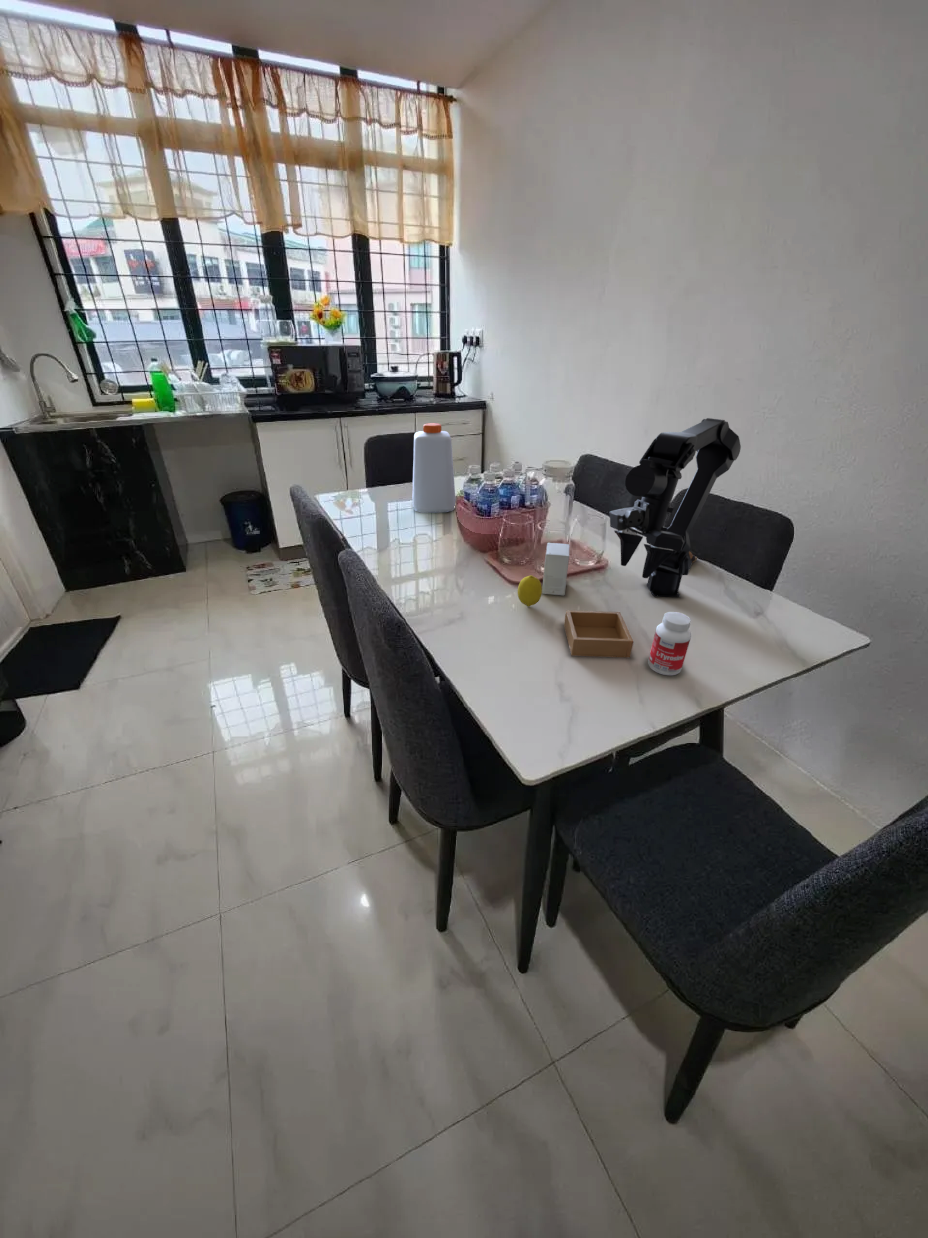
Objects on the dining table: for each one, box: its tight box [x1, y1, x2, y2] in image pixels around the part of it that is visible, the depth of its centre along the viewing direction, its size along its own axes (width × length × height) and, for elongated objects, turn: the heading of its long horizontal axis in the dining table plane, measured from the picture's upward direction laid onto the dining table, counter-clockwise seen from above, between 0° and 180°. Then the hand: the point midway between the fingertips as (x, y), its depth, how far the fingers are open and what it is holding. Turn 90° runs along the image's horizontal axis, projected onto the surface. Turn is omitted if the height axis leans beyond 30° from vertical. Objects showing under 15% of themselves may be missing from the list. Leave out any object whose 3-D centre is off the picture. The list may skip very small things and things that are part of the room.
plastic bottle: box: [411, 422, 456, 514], centre depth 173 cm, size 15×15×28 cm
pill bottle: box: [647, 611, 692, 676], centre depth 94 cm, size 6×6×11 cm
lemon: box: [517, 574, 543, 608], centre depth 115 cm, size 6×6×8 cm
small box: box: [542, 542, 571, 596], centre depth 123 cm, size 8×6×10 cm
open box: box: [563, 609, 635, 659], centre depth 104 cm, size 12×12×4 cm
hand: (633, 571), depth 108 cm, fingers open, 9 cm apart
